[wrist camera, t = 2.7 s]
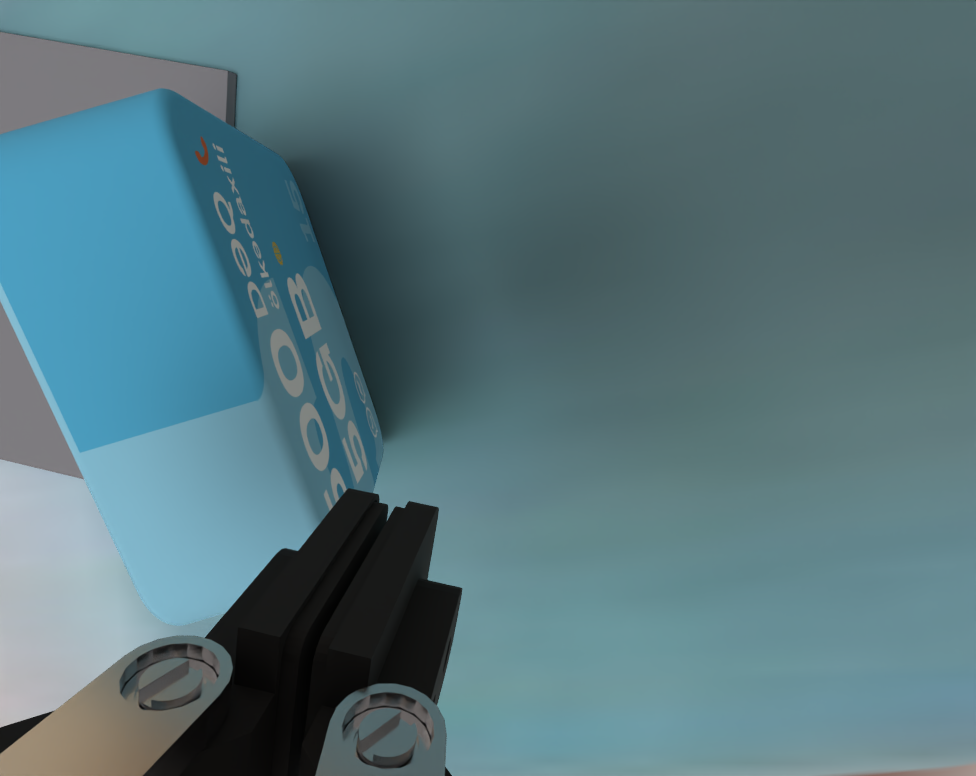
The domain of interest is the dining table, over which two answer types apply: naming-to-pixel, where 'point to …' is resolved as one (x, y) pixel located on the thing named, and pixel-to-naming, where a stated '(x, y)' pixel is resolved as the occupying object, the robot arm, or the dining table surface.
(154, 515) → the data package
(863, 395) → the dining table surface
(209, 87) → the rubber mat
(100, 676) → the robot arm
